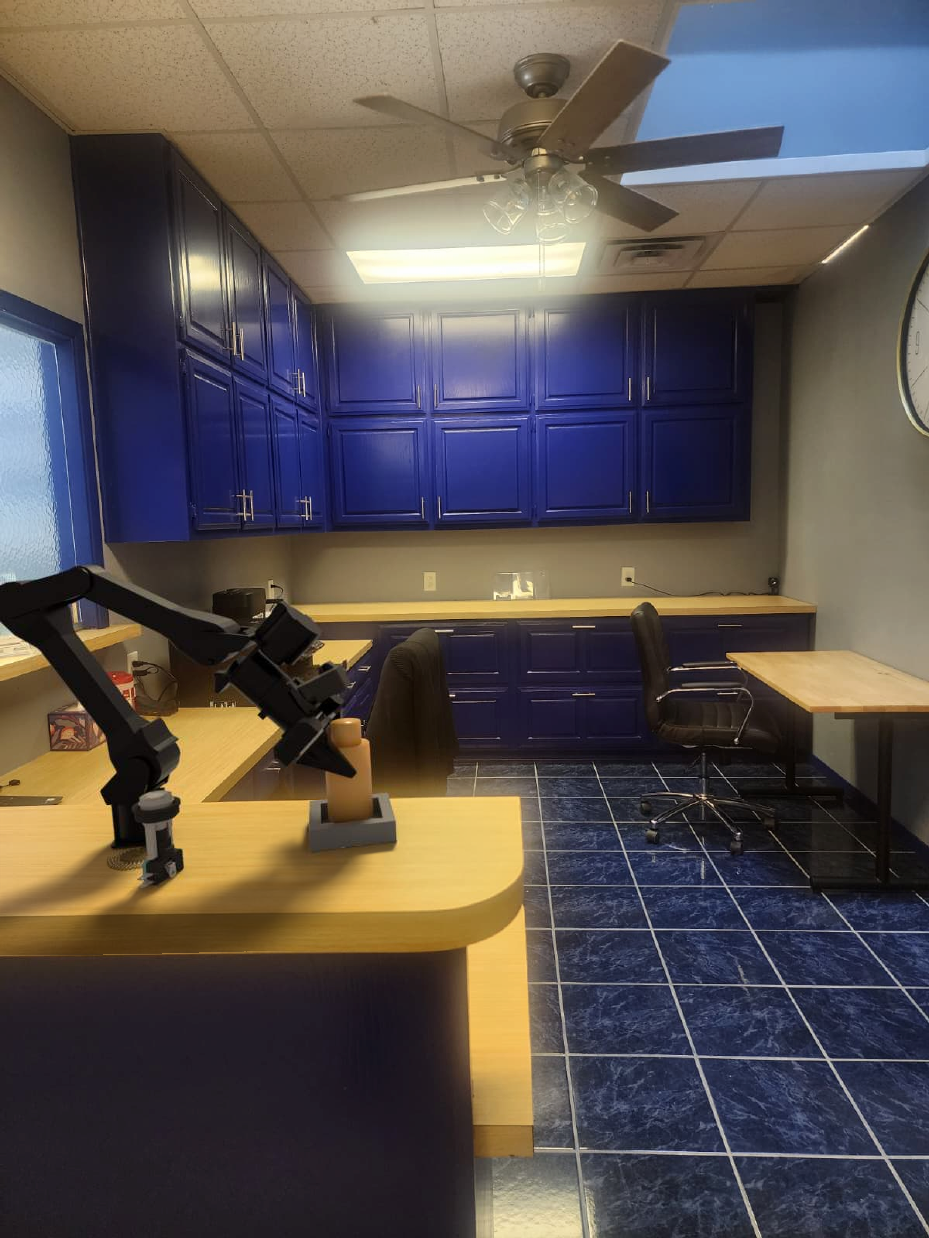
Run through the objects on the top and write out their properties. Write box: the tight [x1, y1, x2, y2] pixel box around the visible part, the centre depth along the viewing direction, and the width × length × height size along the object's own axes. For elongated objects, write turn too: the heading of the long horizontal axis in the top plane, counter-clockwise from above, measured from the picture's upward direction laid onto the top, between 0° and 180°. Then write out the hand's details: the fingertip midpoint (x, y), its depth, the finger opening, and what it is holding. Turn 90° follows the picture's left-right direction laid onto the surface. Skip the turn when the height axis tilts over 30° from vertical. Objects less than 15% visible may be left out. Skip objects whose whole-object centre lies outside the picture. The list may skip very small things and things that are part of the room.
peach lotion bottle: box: [325, 717, 373, 823], centre depth 98 cm, size 6×6×13 cm
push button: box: [132, 789, 185, 889], centre depth 86 cm, size 7×5×10 cm
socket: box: [308, 792, 398, 853], centre depth 98 cm, size 11×11×3 cm
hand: (358, 768), depth 98 cm, fingers closed on peach lotion bottle, 6 cm apart
